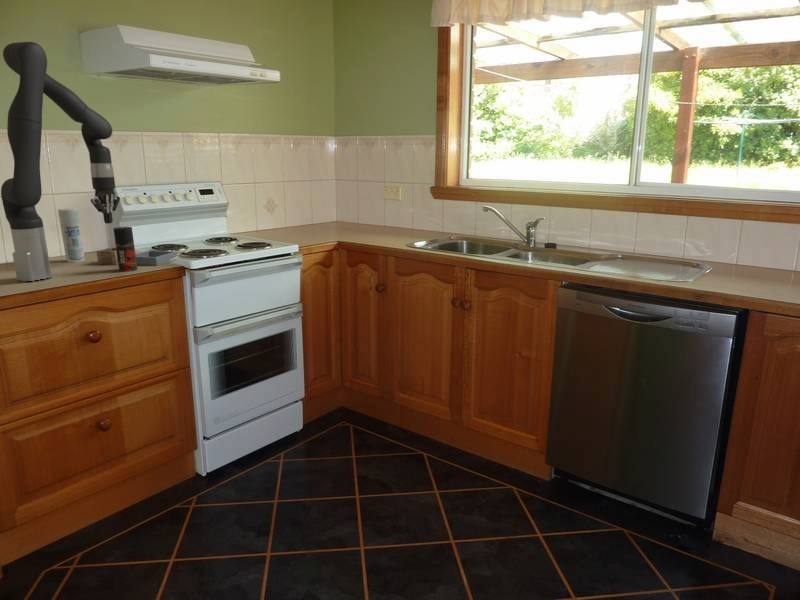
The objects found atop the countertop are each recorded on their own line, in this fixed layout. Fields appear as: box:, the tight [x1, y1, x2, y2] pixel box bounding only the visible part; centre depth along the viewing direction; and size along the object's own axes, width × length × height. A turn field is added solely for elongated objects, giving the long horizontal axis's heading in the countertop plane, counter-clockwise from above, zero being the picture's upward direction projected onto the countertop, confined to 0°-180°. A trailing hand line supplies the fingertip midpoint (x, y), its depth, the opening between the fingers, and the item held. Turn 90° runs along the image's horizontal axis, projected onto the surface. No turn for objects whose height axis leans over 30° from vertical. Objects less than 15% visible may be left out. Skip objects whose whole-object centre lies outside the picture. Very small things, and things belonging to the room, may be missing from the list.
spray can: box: [57, 207, 86, 263], centre depth 226 cm, size 6×6×20 cm
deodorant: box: [112, 226, 138, 273], centre depth 208 cm, size 6×6×15 cm
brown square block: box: [96, 246, 119, 266], centre depth 223 cm, size 8×8×5 cm
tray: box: [135, 250, 178, 267], centre depth 224 cm, size 13×13×3 cm
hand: (108, 223), depth 220 cm, fingers closed
